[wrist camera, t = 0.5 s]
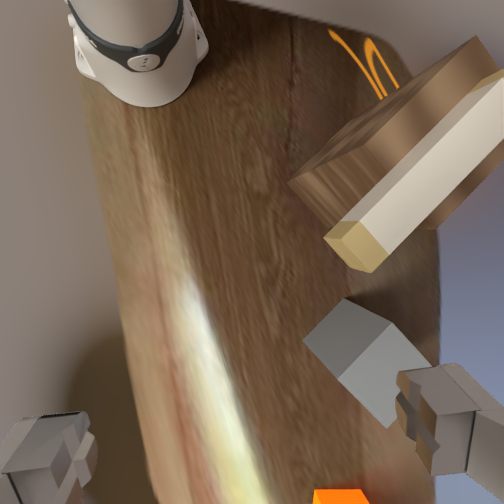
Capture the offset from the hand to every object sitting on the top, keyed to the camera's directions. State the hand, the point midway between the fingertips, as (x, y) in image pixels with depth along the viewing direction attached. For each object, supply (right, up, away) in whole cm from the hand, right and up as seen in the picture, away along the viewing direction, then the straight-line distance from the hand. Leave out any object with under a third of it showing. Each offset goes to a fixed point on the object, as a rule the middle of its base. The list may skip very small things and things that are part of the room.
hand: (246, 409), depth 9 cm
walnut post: (+14, +17, +47) cm, 51 cm away
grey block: (+15, -11, +49) cm, 53 cm away
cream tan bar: (+15, +11, +21) cm, 28 cm away
